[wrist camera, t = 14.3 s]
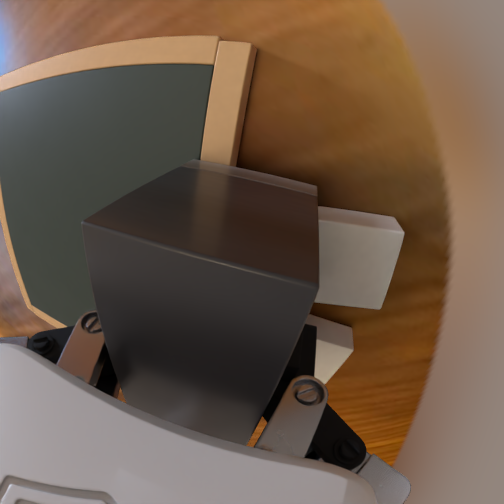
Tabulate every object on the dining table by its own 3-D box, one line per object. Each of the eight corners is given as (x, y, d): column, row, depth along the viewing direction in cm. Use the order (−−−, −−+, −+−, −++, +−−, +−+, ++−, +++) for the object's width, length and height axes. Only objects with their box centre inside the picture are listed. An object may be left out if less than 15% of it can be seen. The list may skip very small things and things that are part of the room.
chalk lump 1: (288, 306, 14) (284, 328, 12) (352, 327, 13) (354, 350, 12) (265, 349, 15) (260, 371, 14) (322, 367, 15) (321, 388, 14)
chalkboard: (3, 77, 10) (-8, 79, 9) (258, 43, 8) (253, 37, 7) (34, 303, 20) (28, 309, 19) (208, 383, 19) (203, 394, 18)
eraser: (193, 158, 10) (79, 221, 5) (317, 185, 9) (321, 286, 4) (182, 352, 15) (140, 436, 10) (258, 374, 15) (233, 468, 10)
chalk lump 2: (310, 204, 11) (309, 219, 10) (395, 216, 10) (405, 232, 9) (300, 279, 13) (298, 300, 11) (375, 288, 12) (380, 310, 11)
